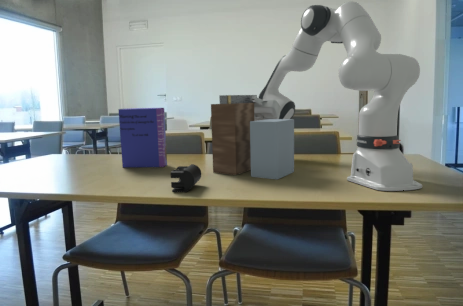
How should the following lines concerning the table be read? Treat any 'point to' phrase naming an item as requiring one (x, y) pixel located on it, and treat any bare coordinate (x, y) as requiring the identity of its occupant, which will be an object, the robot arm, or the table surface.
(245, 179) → the table surface
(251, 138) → the blue-grey rectangular block
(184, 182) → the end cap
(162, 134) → the blue book
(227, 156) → the tall walnut stand
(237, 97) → the grey yellow-banded bar
